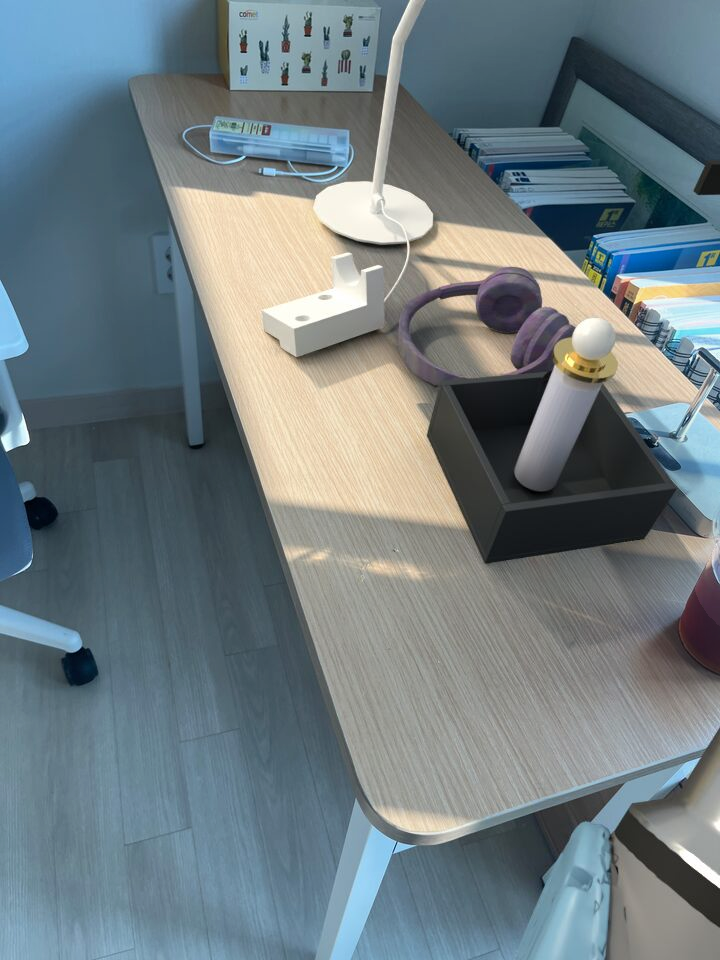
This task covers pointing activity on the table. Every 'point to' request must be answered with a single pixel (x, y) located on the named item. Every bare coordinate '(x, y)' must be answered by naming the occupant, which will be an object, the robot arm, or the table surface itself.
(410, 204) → the desk lamp
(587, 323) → the perfume bottle
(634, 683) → the table surface
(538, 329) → the headphones
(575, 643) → the table surface
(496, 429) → the bin
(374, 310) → the bracket
